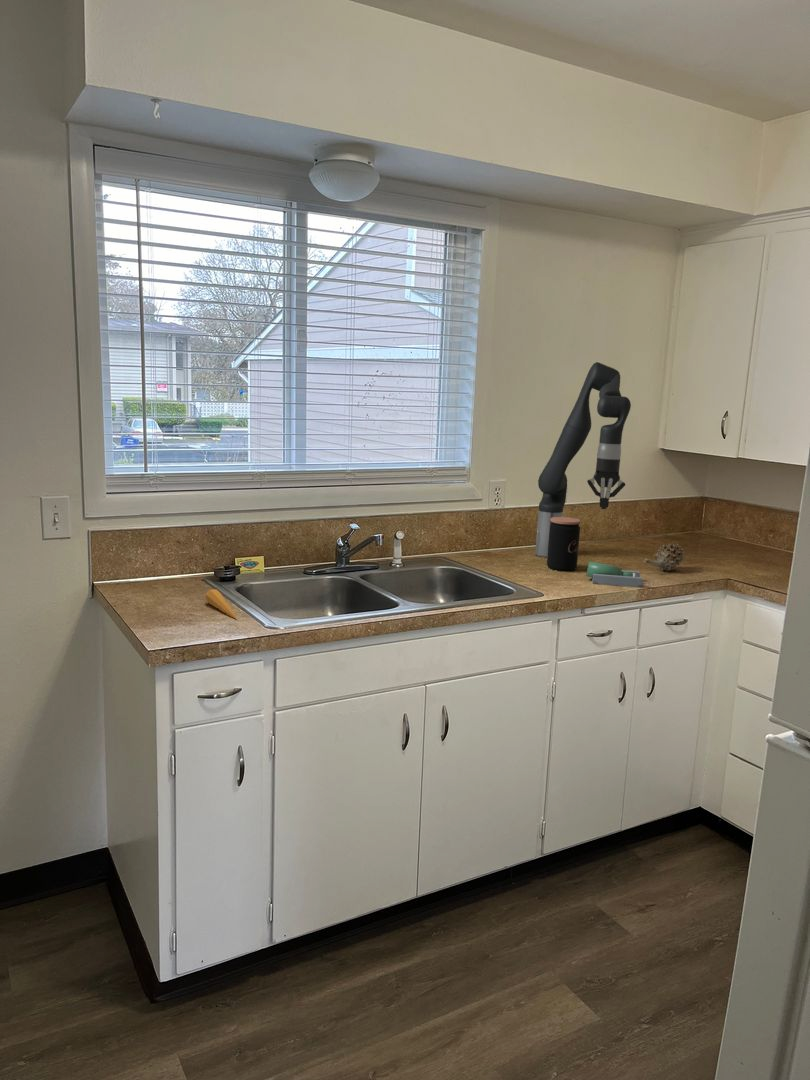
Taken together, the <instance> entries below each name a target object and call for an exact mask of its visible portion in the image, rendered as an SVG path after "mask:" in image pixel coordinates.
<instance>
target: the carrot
mask: <svg viewBox="0 0 810 1080" xmlns="http://www.w3.org/2000/svg"><path fill="white" fill-rule="evenodd" d="M205 600H206V601H207V603H209V604H210V605H211V606H212V607H214V608H215V609H217V608H218V609H217V610H219V611H221V612H222V613H223V614H225V613H226V614H225V615H227V616H229V617H231V618H232V617H233V619H234V618H235V620H238V619H237V616H236V614H235V612H234V611H233V608H231V606H230V605H229V603H228V602H227V600H226V599H225V598H224V596H223V595H222V593H221V592H220V591H219V590H218V589H213V588H212V589H208V591H207V592H206V593H205Z"/></svg>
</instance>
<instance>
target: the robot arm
mask: <svg viewBox="0 0 810 1080" xmlns="http://www.w3.org/2000/svg"><path fill="white" fill-rule="evenodd" d="M620 387H621V374H620V372H619V370H617V369H616V368H614V367H611V366H610V365H609V366H608V365H606V364H604V363H601V362H597V361H596V362H594V363H593V364H592V365H591V367H590V368H589V370H588V372H587V375H586V377H585V379H584V382H583V385H582V387H581V390H580V392H579V394H578V396H577V397H578V398H577V399H576V401H575V404H574V405H573V408H572V410H571V412H570V414H569V416H568V417H567V420H566V422H565V424H564V426H563V428H562V431H561V433H560V435H559V438H558V439H557V442H556V444H555V447H554V449H553V451H552V454H551V455H550V458H549V460H548V461H547V463H546V465H545V466H544V468H543V469H542V471H541V473H540V475H539V477H538V482H537V485H538V488H539V490H540V492H542V498H541V499H540V502H539V504H538V515H537V526H536V528H537V529H536V541H535V551H534V552H535V554H534V555H535V556H538V557H544V558H547V555H548V542H549V529H550V524H551V521H550V518H552V517H564V515H563V514H564V506H565V504H566V500H567V491H568V476H567V475H566V471H567V468H568V467H569V465H570V463H571V461H572V460H573V459H574V457H576V455H577V454H578V452H580V449H582V447H583V445H584V444H585V441H586V439H588V436H589V433H590V432H591V429H592V417H591V409H590V397H591V392H592V389H594V390H596V391H597V392H598V397H599V398H598V402H597V406H596V409H597V410H596V412H597V414H598V415H599V416H600V417H602V418H610V419H613V418H614V419H617V420H616V421H615V422H614V423H611V424H604V425H602V426H601V427H600V433H599V441H598V442H599V443H598V447H597V453H596V464H595V465H596V467H595V472H594V473H593V477H591V478H589V479H587V480H586V482H587V484H588V486H589V488H591V490H592V492H593V493H594V495H595V496H597V497H599V503H598V504H599V508H600V509H601V510H606V509H607V508H609V503H610V498H614V497H616V495H618V493H619V492H621V490H622V489H623V488H624V487H625V486H626V482H624V481H623V480H622V479H621V477H620V468H621V467H620V466H621V465H620V464H621V457H622V440H623V439H622V438H623V431H624V428H625V427H624V426H625V423H626V420H627V418H628V416H629V413H630V410H631V407H632V405H631V404H632V403H631V401H630V399H629V398H628V397H627V396H622V393H621V390H620ZM595 483H596V484H597V486H598V487H599V490H600V491H598V489H597V488H596V487H595ZM616 484H617V486H616ZM615 486H616V488H615V489H614V490H613V491H612V488H614V487H615ZM605 489H606V490H605Z"/></svg>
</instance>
